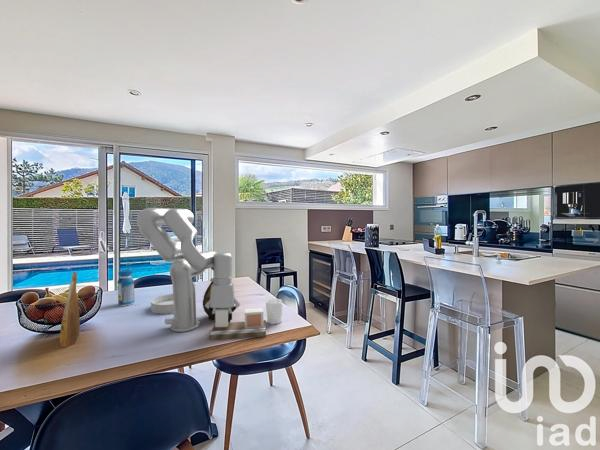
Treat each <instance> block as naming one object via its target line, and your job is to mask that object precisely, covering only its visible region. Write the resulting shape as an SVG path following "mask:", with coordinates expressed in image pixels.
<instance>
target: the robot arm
mask: <svg viewBox="0 0 600 450" xmlns="http://www.w3.org/2000/svg"><path fill="white" fill-rule="evenodd" d="M194 221H195V216H194V213H193V212H192V211H191V210H190V209H188V208H172V207H148V208H144V209H142V210H140V211H139V213H138V214H137V217H136V222H137V223H136V224H137V228H138V229H139V232H140V233H141V235H142V236H143V237H144V238H145V239H147V241H148V242H149V243H150V244H151V245H152V247H153V249H154V250H155V251H156V252H157V253H158V255H159V256H160V257H161V258H162V260H163V261H165V262H167V263H169V262H171V265H170V267H169V274H170V278H171V284H172V294H173V304H174V313H173V317H171V318H165V319H164V324H165V325H170V331H172V332H175V333H183V332H184V333H185V332H190V331H193V330H196V329H197V328H199V327H200V325H201V323H200V321H199V320H198V319H197V304H196V301H197V300H196V298H197V297H196V285H195V282H194V281H193V278H194V277H197V276H200V275H202V274H203V273H204V272H205V271H206V270H208V269H211V268H212V267H214V270H213V277H211V278H210V279H209V281H210V282H214V284H212V287H211V294H210V300H209V301H208V302H207V303H206V305H205V307H206V308H208V309H209V310H210V311H211V312H212V314H213V320H214V321H213V320H212V321H213V323H214V324H215V312H216V309H217V308H228V310H229V314H228V322H229V323H230V322H231V321H232V320H233V312H235V310H236V309H237V308H238V309H239V307H240V306H241V303H240V302H239V301H238V300H237V299H236V298H235V297H236V296H235V295H236V294H235V287H234V286H235V285H234V283H233V282H232V279H233V278H232V274H233V273H232V272H233V268H232V267H233V262H232V261H233V256H232V253H230V252H224V251H223V252H220V251H217V250H207V251H206V250H205V251H202V252H201V251H199V249H197V247H196V246H195V245H194V242H193V240H194V239H195V238H196V237H197V235H198V230H197V228H195V226H194V225H193V223H194ZM160 226H168V229H170V230H171V232H173V234H174V235H175V237H176V238H177V240H174V239H173V238H172V236H170V235H169V233H168V232H167V231H166V230H164V229H163V228H161V227H160ZM172 262H173V263H172ZM209 304H210V305H209ZM233 306H234V307H233ZM232 307H233V308H232Z"/></svg>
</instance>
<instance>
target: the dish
mask: <svg viewBox="0 0 600 450" xmlns="http://www.w3.org/2000/svg"><path fill="white" fill-rule="evenodd" d="M150 311H152V313H153V312H154V313H153V314H157V313H160V314H159V315H168V313H170V314H174V304H173V293H169V294H164V295H159V296H157V297H154V298H153V299H152V300H151V301H150Z"/></svg>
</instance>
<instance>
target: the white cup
mask: <svg viewBox="0 0 600 450" xmlns="http://www.w3.org/2000/svg"><path fill="white" fill-rule="evenodd" d="M265 308H266V309H265V311H266V323H268V324H271V325H277V324H280V323H282V316H283V300H282V299H281V298H270V299H267V300H265Z"/></svg>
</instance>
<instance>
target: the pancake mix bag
mask: <svg viewBox="0 0 600 450" xmlns="http://www.w3.org/2000/svg"><path fill="white" fill-rule="evenodd" d="M77 280H78V273H77V272H76V271H75V270H73V272H72V276H71V279H70V283H69V286H68V292H67V293H68V294H67V298H66V301H65V305H64V310H63V315H62V319H61V324H60V331H59V332H60V334H59V344H60V347H61V348H68V347H71V346H73V345H75V344H76V342H77V340H78V337H79V335H80V325H81V324H80V322H81V321H80V320H81V319H80V306H79V302H78V295H77V283H78V281H77Z"/></svg>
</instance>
